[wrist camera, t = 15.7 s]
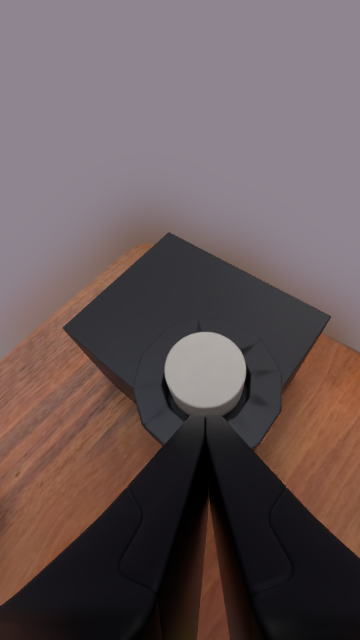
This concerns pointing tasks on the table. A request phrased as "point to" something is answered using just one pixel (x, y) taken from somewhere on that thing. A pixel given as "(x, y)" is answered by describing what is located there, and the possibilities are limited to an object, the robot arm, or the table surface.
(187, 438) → the robot arm
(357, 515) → the table surface
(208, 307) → the push button box
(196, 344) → the light grey push button
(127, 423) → the table surface
